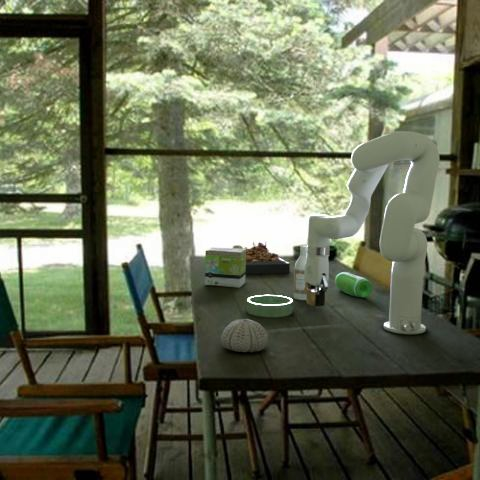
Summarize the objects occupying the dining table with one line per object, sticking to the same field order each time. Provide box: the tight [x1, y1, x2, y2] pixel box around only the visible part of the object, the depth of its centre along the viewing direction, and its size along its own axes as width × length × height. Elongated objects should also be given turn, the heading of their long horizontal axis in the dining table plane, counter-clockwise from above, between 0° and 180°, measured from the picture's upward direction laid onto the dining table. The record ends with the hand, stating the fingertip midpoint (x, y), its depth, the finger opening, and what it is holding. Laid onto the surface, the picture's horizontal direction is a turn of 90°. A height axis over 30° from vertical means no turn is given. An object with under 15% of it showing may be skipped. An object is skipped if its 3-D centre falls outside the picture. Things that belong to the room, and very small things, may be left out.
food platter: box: [232, 241, 291, 275], centre depth 303 cm, size 45×25×10 cm, turn 12°
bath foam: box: [293, 245, 308, 301], centre depth 230 cm, size 7×7×20 cm
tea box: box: [204, 246, 246, 289], centre depth 256 cm, size 15×10×15 cm, turn 76°
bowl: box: [246, 294, 294, 318], centre depth 210 cm, size 15×15×4 cm
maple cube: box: [305, 287, 327, 307], centre depth 211 cm, size 5×5×5 cm
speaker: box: [334, 271, 373, 299], centre depth 241 cm, size 18×7×8 cm, turn 21°
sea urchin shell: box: [220, 318, 271, 353], centre depth 170 cm, size 13×14×8 cm
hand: (316, 303), depth 212 cm, fingers closed on maple cube, 5 cm apart
